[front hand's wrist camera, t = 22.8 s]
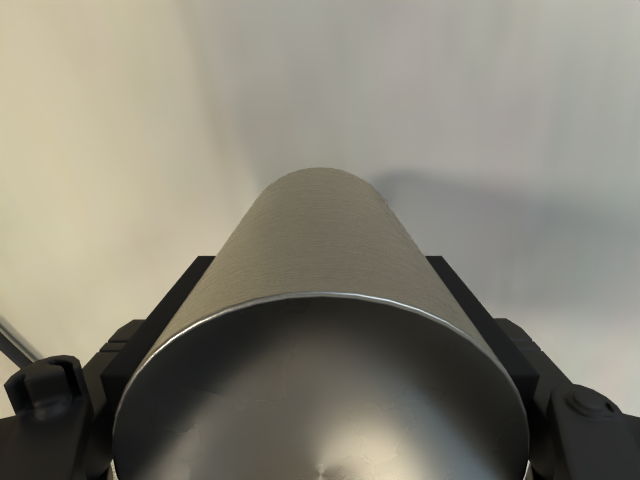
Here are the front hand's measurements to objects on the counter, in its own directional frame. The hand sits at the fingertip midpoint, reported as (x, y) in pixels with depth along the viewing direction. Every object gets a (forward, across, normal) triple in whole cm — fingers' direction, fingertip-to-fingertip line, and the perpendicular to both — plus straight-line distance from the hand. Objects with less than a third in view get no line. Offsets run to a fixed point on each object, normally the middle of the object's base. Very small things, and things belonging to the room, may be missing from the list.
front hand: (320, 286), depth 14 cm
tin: (+5, 0, 0) cm, 5 cm away
